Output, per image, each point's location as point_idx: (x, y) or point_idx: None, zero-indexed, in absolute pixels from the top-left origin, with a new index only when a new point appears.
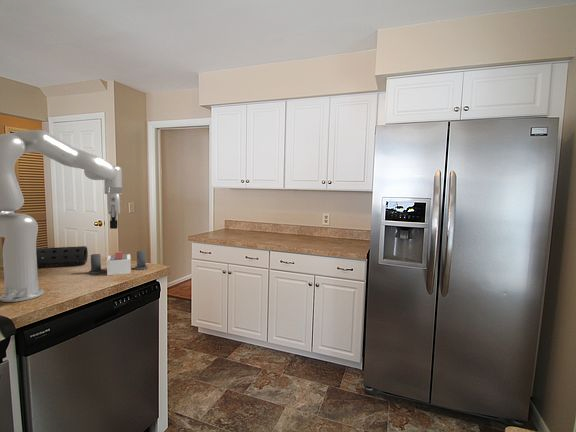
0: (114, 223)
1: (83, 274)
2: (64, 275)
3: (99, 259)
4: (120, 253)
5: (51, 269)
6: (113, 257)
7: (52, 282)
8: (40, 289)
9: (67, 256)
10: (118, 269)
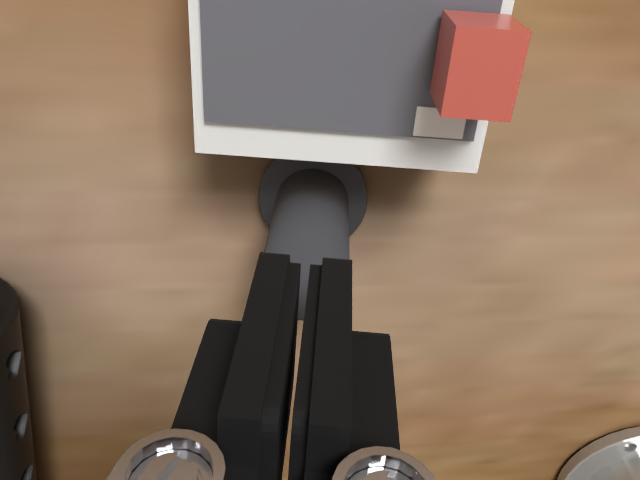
0: (390, 417)
1: None
2: None
3: (334, 229)
4: (521, 51)
5: (91, 423)
6: (355, 107)
7: (440, 402)
8: (623, 444)
9: (16, 418)
10: None
